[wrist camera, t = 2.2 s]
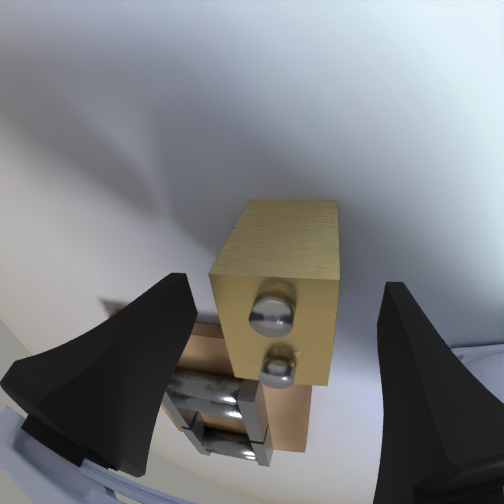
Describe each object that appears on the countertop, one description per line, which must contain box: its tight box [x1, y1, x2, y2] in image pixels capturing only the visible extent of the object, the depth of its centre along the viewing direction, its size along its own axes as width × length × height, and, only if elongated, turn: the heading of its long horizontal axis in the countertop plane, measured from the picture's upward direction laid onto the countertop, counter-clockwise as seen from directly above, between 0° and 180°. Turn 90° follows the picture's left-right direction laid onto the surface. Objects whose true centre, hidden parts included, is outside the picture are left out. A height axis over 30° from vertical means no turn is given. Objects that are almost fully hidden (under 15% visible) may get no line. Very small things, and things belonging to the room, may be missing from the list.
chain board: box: [109, 310, 312, 453], centre depth 21 cm, size 13×17×1 cm
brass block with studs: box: [208, 200, 340, 389], centre depth 11 cm, size 4×5×6 cm
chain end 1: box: [162, 367, 268, 442], centre depth 19 cm, size 7×7×2 cm
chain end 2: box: [181, 412, 273, 467], centre depth 23 cm, size 7×7×2 cm
